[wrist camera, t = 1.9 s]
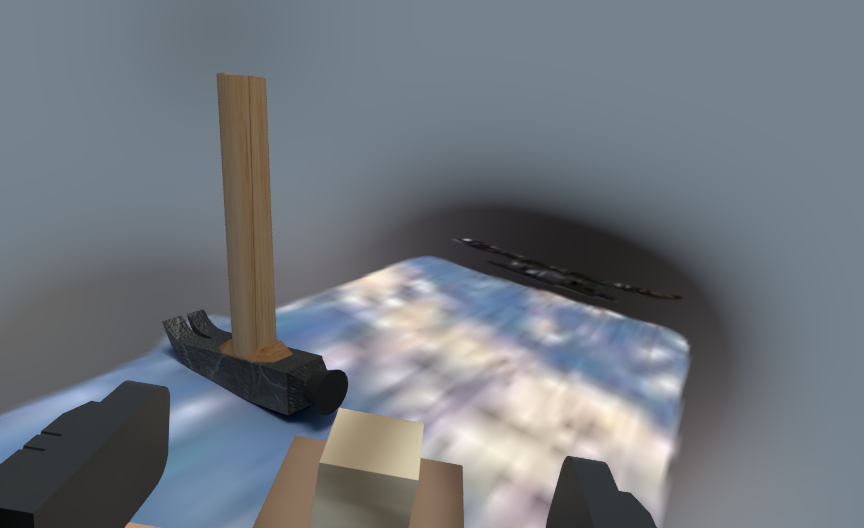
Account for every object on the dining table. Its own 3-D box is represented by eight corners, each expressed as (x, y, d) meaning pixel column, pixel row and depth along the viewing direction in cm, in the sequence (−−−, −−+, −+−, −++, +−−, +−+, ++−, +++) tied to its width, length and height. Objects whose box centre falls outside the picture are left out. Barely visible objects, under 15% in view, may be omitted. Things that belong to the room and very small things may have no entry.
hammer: (166, 375, 58) (141, 77, 51) (206, 360, 62) (187, 82, 56) (314, 425, 48) (304, 66, 42) (349, 403, 53) (345, 74, 46)
